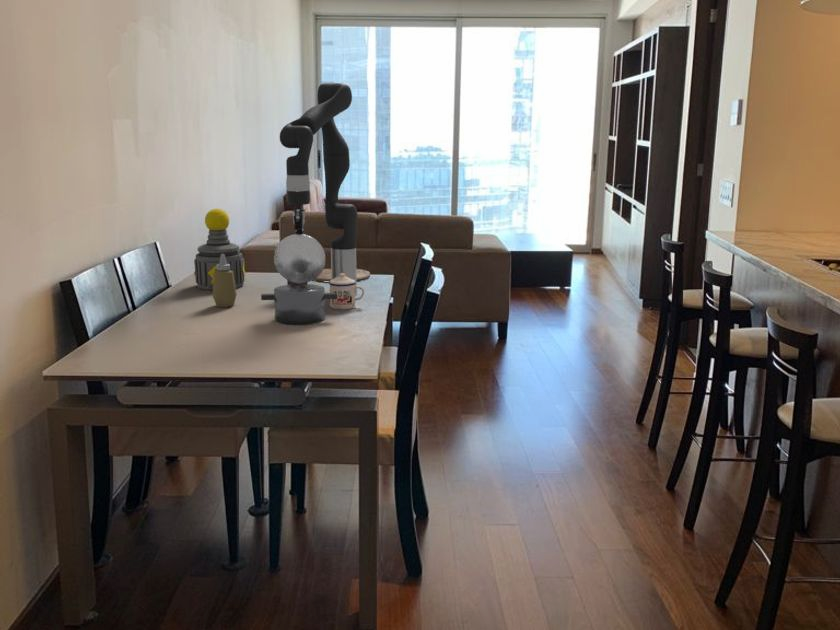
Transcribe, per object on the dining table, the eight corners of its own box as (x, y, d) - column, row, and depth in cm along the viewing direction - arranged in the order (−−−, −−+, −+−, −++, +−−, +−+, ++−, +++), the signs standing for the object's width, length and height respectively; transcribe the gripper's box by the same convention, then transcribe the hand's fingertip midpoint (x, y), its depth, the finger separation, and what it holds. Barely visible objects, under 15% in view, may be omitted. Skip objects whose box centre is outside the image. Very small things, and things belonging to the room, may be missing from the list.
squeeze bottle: (236, 302, 284) (233, 252, 280) (238, 307, 276) (235, 255, 272) (212, 304, 281) (209, 253, 277) (214, 308, 274) (211, 256, 270)
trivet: (331, 270, 349) (331, 266, 349) (381, 275, 338) (381, 271, 337) (297, 280, 328) (296, 275, 327) (349, 285, 316) (349, 281, 316)
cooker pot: (265, 314, 267) (263, 284, 264) (337, 312, 269) (337, 283, 266) (259, 325, 251) (258, 294, 249) (337, 324, 253) (336, 293, 251)
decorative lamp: (249, 281, 322) (246, 206, 316) (239, 290, 304) (236, 211, 297) (202, 281, 322) (198, 206, 315) (189, 290, 304) (184, 211, 297)
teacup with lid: (328, 310, 273) (328, 276, 270) (330, 304, 282) (329, 271, 279) (364, 309, 274) (363, 276, 271) (364, 304, 282) (364, 271, 280)
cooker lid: (275, 283, 265) (276, 280, 268) (326, 282, 266) (326, 279, 269) (272, 235, 258) (273, 232, 261) (324, 234, 260) (324, 231, 263)
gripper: (287, 187, 266) (289, 239, 270) (284, 190, 253) (286, 245, 257) (310, 187, 267) (312, 239, 271) (308, 190, 254) (310, 245, 258)
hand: (299, 242), depth 264 cm, fingers closed
